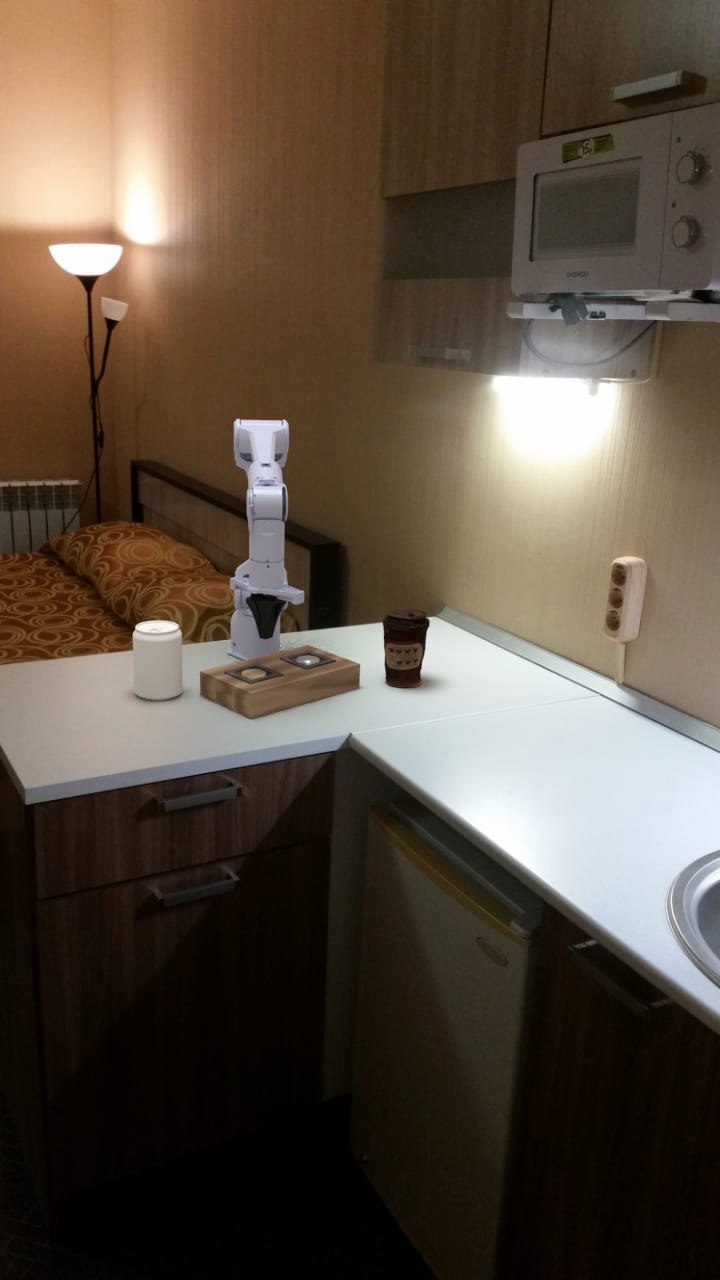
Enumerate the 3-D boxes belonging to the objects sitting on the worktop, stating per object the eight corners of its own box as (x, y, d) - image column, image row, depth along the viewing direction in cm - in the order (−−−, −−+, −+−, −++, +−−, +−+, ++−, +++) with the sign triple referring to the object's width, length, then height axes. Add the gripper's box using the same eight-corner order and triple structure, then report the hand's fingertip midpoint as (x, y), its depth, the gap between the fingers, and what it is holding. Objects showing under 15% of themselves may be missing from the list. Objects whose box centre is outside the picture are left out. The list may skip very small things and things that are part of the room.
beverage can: (188, 687, 188) (187, 621, 185) (175, 703, 181) (174, 634, 177) (142, 684, 189) (140, 618, 185) (128, 700, 181) (126, 631, 178)
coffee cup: (427, 692, 190) (431, 620, 186) (380, 690, 190) (382, 618, 186) (425, 675, 198) (429, 607, 195) (380, 674, 198) (383, 605, 195)
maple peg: (237, 697, 184) (237, 672, 183) (255, 692, 186) (255, 667, 185) (251, 703, 181) (251, 678, 180) (270, 698, 184) (270, 673, 182)
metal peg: (291, 682, 192) (291, 658, 190) (308, 678, 194) (309, 654, 193) (306, 688, 189) (306, 664, 188) (323, 683, 192) (324, 659, 190)
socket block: (200, 695, 185) (199, 669, 183) (307, 667, 201) (307, 643, 199) (251, 719, 175) (251, 691, 174) (359, 687, 191) (360, 662, 190)
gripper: (217, 555, 180) (217, 634, 184) (285, 570, 172) (284, 651, 176) (245, 548, 185) (245, 625, 189) (312, 562, 177) (311, 642, 181)
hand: (266, 637), depth 183 cm, fingers closed
